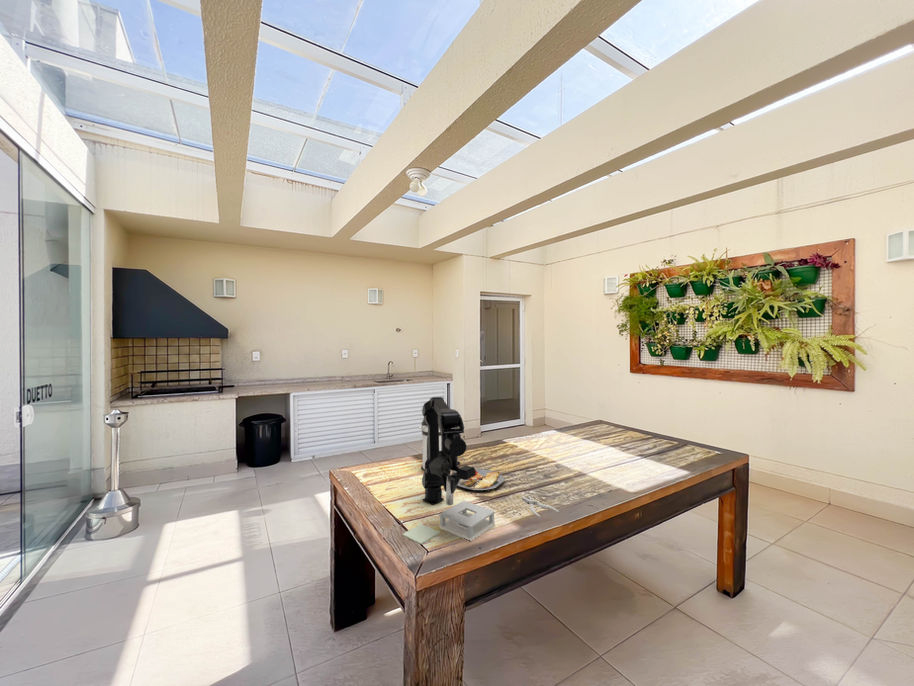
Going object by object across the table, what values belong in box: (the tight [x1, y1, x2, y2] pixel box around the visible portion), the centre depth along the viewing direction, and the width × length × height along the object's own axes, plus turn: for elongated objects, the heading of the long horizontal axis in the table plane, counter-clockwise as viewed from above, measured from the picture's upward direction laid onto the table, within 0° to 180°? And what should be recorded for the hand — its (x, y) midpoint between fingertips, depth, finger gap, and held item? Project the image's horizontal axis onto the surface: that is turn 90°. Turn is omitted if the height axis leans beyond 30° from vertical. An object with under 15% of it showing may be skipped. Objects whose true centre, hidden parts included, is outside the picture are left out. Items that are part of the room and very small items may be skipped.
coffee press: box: [419, 418, 453, 470], centre depth 186 cm, size 17×16×30 cm
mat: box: [401, 523, 441, 545], centre depth 124 cm, size 9×9×1 cm
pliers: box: [521, 495, 560, 518], centre depth 145 cm, size 10×2×15 cm
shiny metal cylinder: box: [445, 473, 454, 506], centre depth 128 cm, size 2×2×10 cm
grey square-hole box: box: [438, 500, 496, 542], centre depth 130 cm, size 14×14×5 cm
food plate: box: [457, 468, 506, 491], centre depth 171 cm, size 25×23×4 cm
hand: (449, 492), depth 127 cm, fingers closed on shiny metal cylinder, 2 cm apart
